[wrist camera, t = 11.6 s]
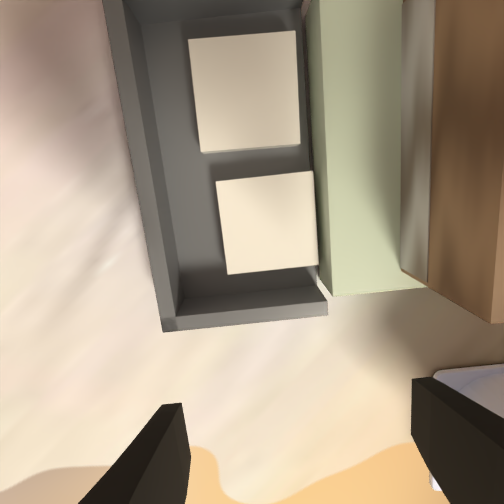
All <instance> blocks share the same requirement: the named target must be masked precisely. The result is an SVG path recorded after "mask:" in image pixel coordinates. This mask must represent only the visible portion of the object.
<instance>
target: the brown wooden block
mask: <svg viewBox="0 0 504 504" xmlns="http://www.w3.org/2000/svg"><path fill="white" fill-rule="evenodd" d="M400 268H401V271H402V272H404V273H405V274H407V275H409V276H410V277H412V278H414V279H415V280H417V281H419V282H420V283H422V284H424V285H425V286H427V287H429V288H431V289H432V290H434V291H436V292H437V293H439V294H441V295H442V296H444V297H446V298H447V299H449V300H451V301H452V302H454V303H456V304H458V305H459V306H461V307H463V308H464V309H466V310H468V311H469V312H471V313H473V314H474V315H476V316H478V317H479V318H481V319H483V320H485V321H486V322H488V323H490V324H497V323H504V0H403V4H402V47H401V204H400Z"/></svg>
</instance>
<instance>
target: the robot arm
mask: <svg viewBox="0 0 504 504" xmlns="http://www.w3.org/2000/svg"><path fill="white" fill-rule="evenodd" d="M411 435H412V437H413V439H414V441H415V443H416V445H417V448H418V450H419V452H420V454H421V456H422V458H423V459H424V461H425V463H426V465H427V467H428V469H429V471H430V476H429V477H430V479H429V483H430V485H431V487H432V488H433V489H434V490H436V491H443V493H444V494H445V496H446V497H447V499H448V501H449V502H450V504H504V364H496V365H486V366H476V367H466V368H457V369H447V370H439V371H437V372H436V373H435V374H434V375H433V377H425V378H415V379H412V404H411ZM190 461H191V453H190V448H189V442H188V436H187V431H186V425H185V419H184V414H183V408H182V403H173V404H164V405H161V407H160V408H159V409H158V410H157V411H156V413H155V414H154V415H153V416H152V418H151V419H150V420H149V421H148V423H147V424H146V425H145V426H144V428H143V429H142V430H141V431H140V433H139V434H138V435H137V436H136V438H135V439H134V440H133V441H132V443H131V444H130V445H129V446H128V447H127V449H126V450H125V451H124V452H123V453H122V455H121V456H120V457H119V458H118V459H117V461H116V462H115V463H114V464H113V465H112V467H111V468H110V469H109V470H108V471H107V472H106V473H105V475H104V476H103V477H102V478H101V479H100V480H99V481H98V482H97V484H96V485H95V486H94V487H93V488H92V489H91V490H90V491H89V492H88V493H87V494H86V496H85V497H84V498H83V499H82V500H81V501H80V502H79V503H78V504H185V500H186V495H187V488H188V480H189V472H190V463H191V462H190Z"/></svg>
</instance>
